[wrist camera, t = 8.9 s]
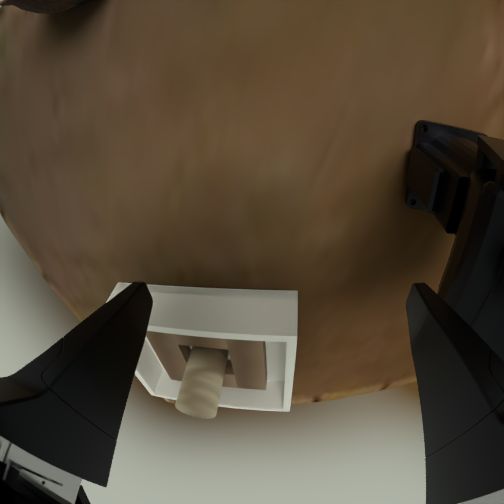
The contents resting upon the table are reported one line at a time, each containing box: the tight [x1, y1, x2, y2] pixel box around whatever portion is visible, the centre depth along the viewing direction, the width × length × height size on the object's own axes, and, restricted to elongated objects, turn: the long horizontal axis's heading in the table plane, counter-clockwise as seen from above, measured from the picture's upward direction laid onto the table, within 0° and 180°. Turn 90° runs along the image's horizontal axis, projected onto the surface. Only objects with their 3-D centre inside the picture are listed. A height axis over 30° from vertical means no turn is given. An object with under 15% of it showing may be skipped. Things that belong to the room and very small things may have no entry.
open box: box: [106, 282, 298, 412], centre depth 29 cm, size 18×16×5 cm
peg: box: [175, 346, 229, 419], centre depth 27 cm, size 4×4×8 cm
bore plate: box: [146, 331, 267, 390], centre depth 30 cm, size 12×12×2 cm
